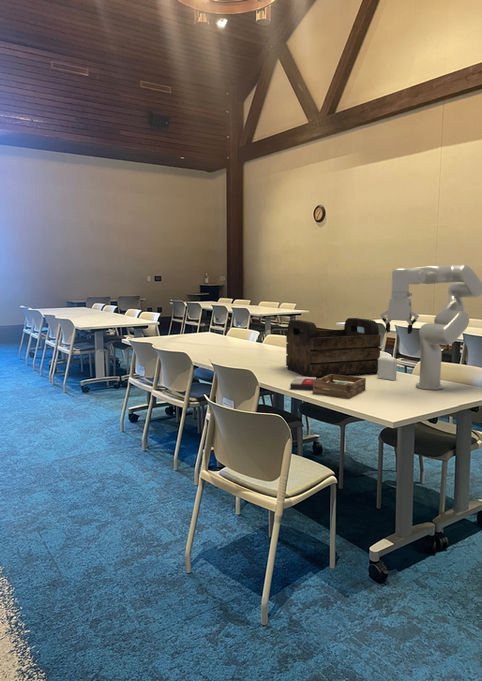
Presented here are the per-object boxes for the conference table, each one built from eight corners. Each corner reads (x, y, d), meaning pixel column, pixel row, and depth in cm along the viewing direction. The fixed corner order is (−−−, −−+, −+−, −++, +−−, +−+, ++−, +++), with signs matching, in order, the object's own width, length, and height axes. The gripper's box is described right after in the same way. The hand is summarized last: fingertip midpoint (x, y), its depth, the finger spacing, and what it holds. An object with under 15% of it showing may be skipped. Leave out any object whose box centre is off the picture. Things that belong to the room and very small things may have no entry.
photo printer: (376, 378, 258) (376, 355, 257) (380, 376, 261) (381, 354, 259) (393, 381, 250) (393, 357, 249) (397, 379, 253) (398, 356, 251)
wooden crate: (311, 379, 255) (312, 323, 251) (286, 368, 287) (286, 319, 284) (379, 374, 268) (381, 321, 264) (347, 364, 300) (348, 316, 296)
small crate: (338, 387, 232) (338, 381, 232) (349, 388, 229) (349, 382, 228) (329, 391, 224) (329, 384, 223) (340, 392, 221) (340, 386, 220)
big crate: (330, 385, 240) (330, 374, 239) (365, 390, 230) (365, 378, 229) (312, 393, 223) (312, 381, 223) (349, 398, 213) (349, 385, 212)
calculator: (290, 382, 232) (296, 375, 246) (290, 391, 233) (296, 383, 247) (312, 384, 229) (317, 376, 243) (312, 392, 230) (317, 384, 244)
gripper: (421, 295, 216) (420, 333, 219) (383, 295, 226) (382, 331, 228) (417, 296, 210) (415, 334, 212) (378, 295, 220) (377, 332, 222)
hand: (398, 332), depth 220 cm, fingers open, 9 cm apart
